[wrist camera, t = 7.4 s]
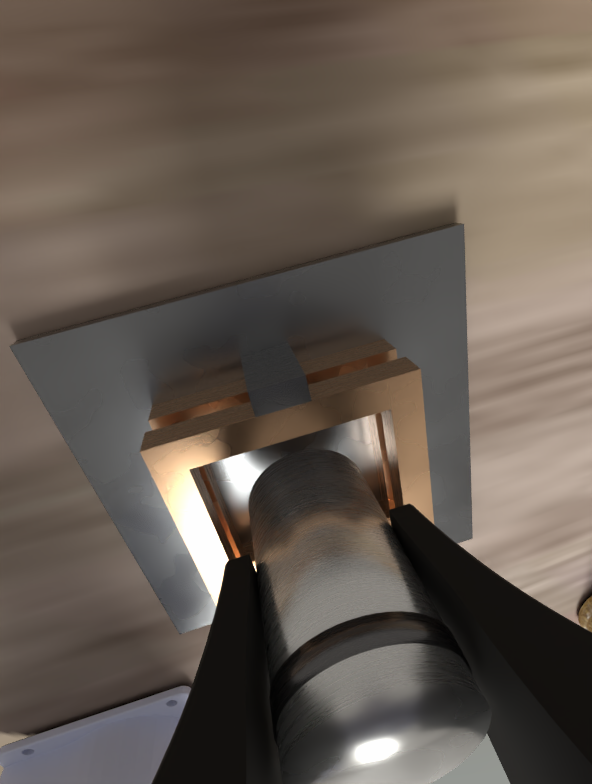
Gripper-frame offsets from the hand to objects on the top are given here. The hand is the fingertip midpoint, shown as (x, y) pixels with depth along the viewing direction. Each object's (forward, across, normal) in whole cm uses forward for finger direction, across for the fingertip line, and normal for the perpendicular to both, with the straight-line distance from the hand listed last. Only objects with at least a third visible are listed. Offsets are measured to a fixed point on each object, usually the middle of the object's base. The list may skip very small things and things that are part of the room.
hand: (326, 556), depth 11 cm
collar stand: (+5, 0, 0) cm, 5 cm away
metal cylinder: (+2, 0, 0) cm, 2 cm away
